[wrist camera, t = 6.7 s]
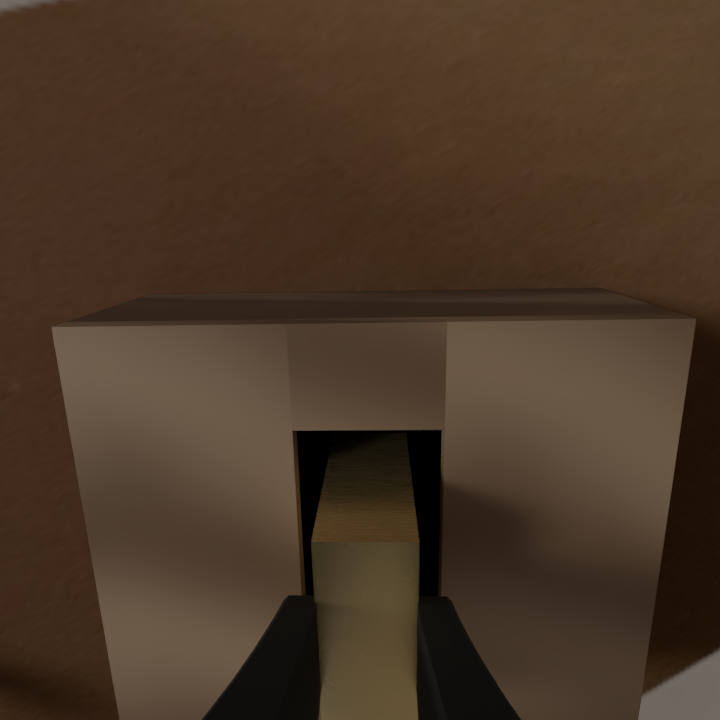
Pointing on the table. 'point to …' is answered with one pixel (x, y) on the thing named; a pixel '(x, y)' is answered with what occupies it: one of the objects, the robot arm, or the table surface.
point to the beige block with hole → (379, 412)
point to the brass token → (367, 580)
